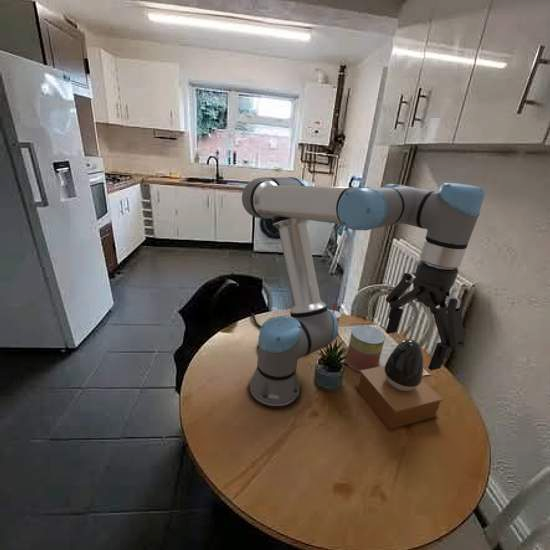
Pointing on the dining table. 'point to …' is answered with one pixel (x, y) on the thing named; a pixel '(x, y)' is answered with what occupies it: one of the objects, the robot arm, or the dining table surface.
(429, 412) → the takeaway box
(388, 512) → the dining table surface
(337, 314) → the beverage cup
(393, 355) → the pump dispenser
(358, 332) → the canned food
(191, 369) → the dining table surface
